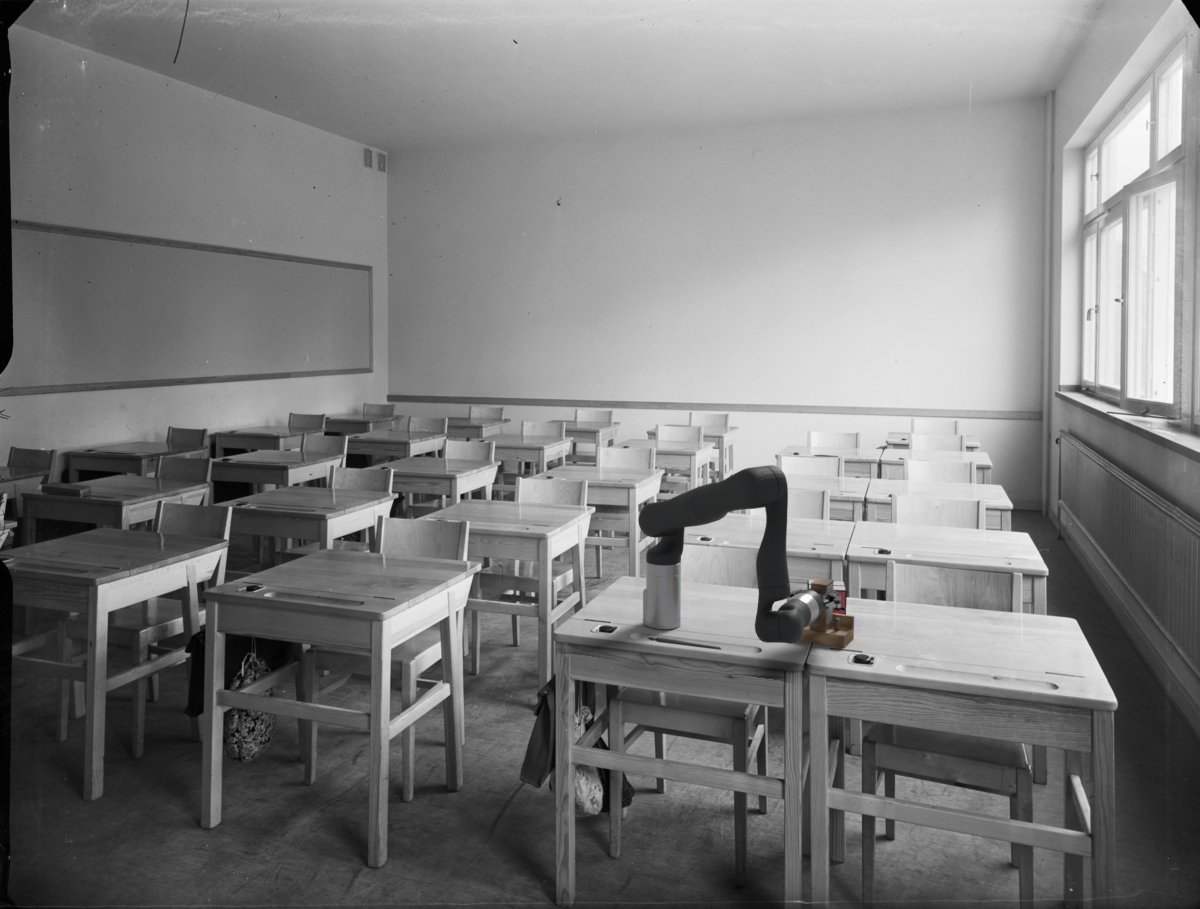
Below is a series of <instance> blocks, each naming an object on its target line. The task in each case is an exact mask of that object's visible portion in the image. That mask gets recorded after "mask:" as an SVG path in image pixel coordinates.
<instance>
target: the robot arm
mask: <svg viewBox="0 0 1200 909" xmlns="http://www.w3.org/2000/svg"><path fill="white" fill-rule="evenodd" d="M788 505H789V488H788V481H787V478H786V474H785V473H784V471H783V470H782V468H780V467H779V466H776V465H773V464H769V465H762V466H754V467H747V468H744V469H740V470H739V471H737V472H735V473H734V474H732V475H730V476H729V477H726V478H725V479H723V480H721V481H717V482H710V483H707V484H703V485H700V486H698V487H697V486H696V487H694V488H692V489H690V490H687V491H685V492H682V493H680V494H678V495H675V496H673V497H672V498H669V499H667V500H664V501H662V500H661V501H657V502H655V501H654V502H649V503H647V504H646V505H644V506H643V507H642V508H641V509H640V512H639V515H638V526H639V529H640V530H641V532H642V533H643V534H644V535H645V536H647V537H649V538H656V539H657V538H661V539H660V540H659V541H658V543H656V544H655V545H654V546H652V547H650V548H649V549H648V550H647V552H646V556H645V563H646V564H645V567H646V568H645V589H643V590H642V625H644V626H647V627H649V628H651V629H656V630H672V629H677V628H679V627H680V626H681V623H682V622H681V620H682V617H681V616H682V615H681V614H682V613H681V612H682V611H681V610H682V609H681V608H682V607H681V604H682V602H681V601H682V595H681V593H682V587H681V586H682V584H681V583H682V555H683V552H684V544H685V542H684V541H685V530H686V528H690V527H697V526H698V527H699V526H705V525H708V524H712V523H715V522H717V521H720V520H722V519H724V517H726V516H727V515H728V513H729V512H734V511H741V510H755V509H762V508H765V509H764V510H765V516H766V517H765V523H766V524H765V528H764V532H763V536H762V539H761V541H760V542H761V543H760V545H759V548H758V551H757V554H756V555H757V556H756V559H755V560H756V563H755V574H756V578H757V579H756V580H757V588H758V597H757V598H758V599H757V608H756V615H755V620H754V631H755V634H756V636H757V638H758V639H759V640H760V641H762V642H763V643H766V644H769V643H775V644H776V643H777V644H779V643H780V644H781V643H784V644H785V643H786V644H787V643H795V642H797V641H800V640H799V639H800V638H801V637H802V633H803V629H804V627H806V626H808V625H810V624H811V623H813V622H814V621H815V620H816V619H818V618H819V617H820V616H821V615H822V613H823V612H824V610H826V609H829V607H833V609H835V610H836V611H840V608H841V595H838V593H837V591H835V590H834V591H832V592H831V593H830V594H827V593H823V594H818V593H816V592H815V591H812V590H811V589H810V590H807V589H801V588H800V589H798V590H793V591H791V583H790V576H789V575H790V574H789V568H788V556H787V532H788V531H787V530H788V511H789V510H788V509H789V508H788V507H789V506H788ZM784 600H786V602H784V603H783V604H782V605H780V606H779V607H778V609H777V610H773V606H774V604H775V603H776V602H780V601H784Z"/></svg>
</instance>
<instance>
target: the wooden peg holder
mask: <svg viewBox="0 0 1200 909" xmlns="http://www.w3.org/2000/svg"><path fill="white" fill-rule="evenodd" d="M854 632H855V615H849V614H846V615H844V614H837V613H833V623H832V627H831V628H830V629H829V630H827V631H826V632H820V631H814V630H810V625H808V626H806V627H804V629H803V633H802V637H801V638H800V639H799V640H798V641H800V642H808V643H814V644H820V645H826V646H831V647H837V648H844V649H845V648H846V647H847V646H848V645H849V644H850V643H851V642H852V641H853V640H854V638H855V636H854V635H855V634H854Z"/></svg>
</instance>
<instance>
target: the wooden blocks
mask: <svg viewBox="0 0 1200 909" xmlns="http://www.w3.org/2000/svg"><path fill="white" fill-rule="evenodd" d="M814 580H815V581H813V582H812V583H811V590H812V591H815V592H816V593H818V594H823V593H827V594H830V593H831V592H832V591H833V582H834V581H835V580H834V579H827V578H821V577H818V578H816V579H814ZM832 623H833V607H829V609H826V610H824V612H823V613H822V615H821V616H820V617H819V618H818V619H816V620H815V621H814V622H813V623H811V624H810V630H814V631H820V632H826V631H827V630H829V629H830V628H831V627H832Z"/></svg>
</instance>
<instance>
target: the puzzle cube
mask: <svg viewBox="0 0 1200 909" xmlns="http://www.w3.org/2000/svg"><path fill="white" fill-rule="evenodd" d="M815 580H816V579H807V581H806V582H807V583H806V584H807V585H806V586H807V587H806V590H810V589H811V583H812V582H813V581H815ZM834 590H835V591H837V593H838V595H841V608H840V611H836V610H835V609H833V613H837V614H844V615H847V597H848V595H847V594H848V592H847V587H846V582H845V581H839V580H837V581H835V580H834V582H833V591H834Z"/></svg>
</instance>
